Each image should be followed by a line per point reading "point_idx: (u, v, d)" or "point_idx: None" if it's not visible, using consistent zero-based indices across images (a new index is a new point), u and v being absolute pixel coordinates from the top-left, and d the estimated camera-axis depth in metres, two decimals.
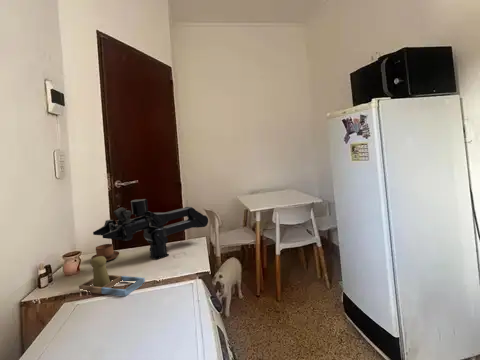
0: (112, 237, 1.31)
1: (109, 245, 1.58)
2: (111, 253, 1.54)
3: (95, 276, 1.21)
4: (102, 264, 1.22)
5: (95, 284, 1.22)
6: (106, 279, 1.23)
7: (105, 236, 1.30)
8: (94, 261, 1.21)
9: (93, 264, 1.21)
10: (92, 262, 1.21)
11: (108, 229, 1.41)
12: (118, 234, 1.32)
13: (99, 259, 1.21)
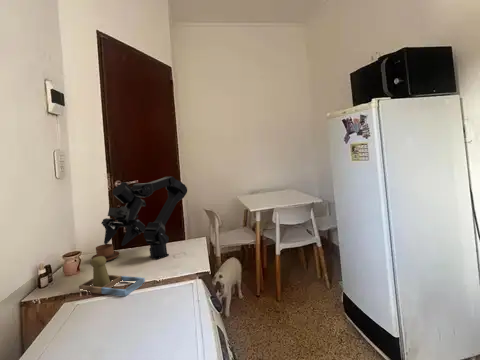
0: (129, 238, 1.29)
1: (109, 245, 1.58)
2: (111, 253, 1.54)
3: (95, 276, 1.21)
4: (102, 264, 1.22)
5: (95, 284, 1.22)
6: (106, 279, 1.23)
7: (124, 243, 1.27)
8: (94, 261, 1.21)
9: (93, 264, 1.21)
10: (92, 262, 1.21)
11: (112, 229, 1.35)
12: (131, 233, 1.30)
13: (99, 259, 1.21)
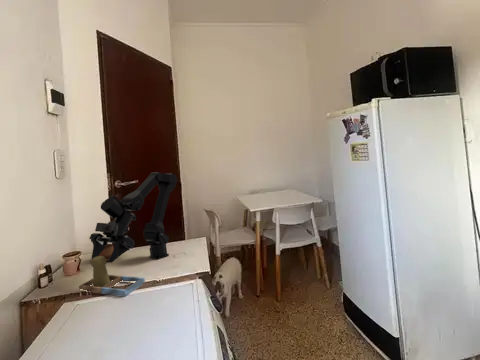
0: (118, 255, 1.24)
1: (109, 245, 1.58)
2: (111, 253, 1.54)
3: (95, 276, 1.21)
4: (102, 264, 1.22)
5: (95, 284, 1.22)
6: (106, 279, 1.23)
7: (112, 260, 1.22)
8: (94, 261, 1.21)
9: (93, 264, 1.21)
10: (92, 262, 1.21)
11: (100, 244, 1.30)
12: (120, 249, 1.25)
13: (99, 259, 1.21)
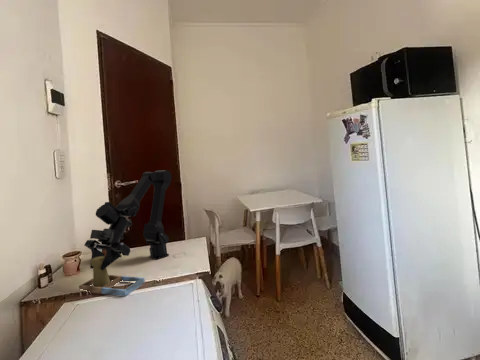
0: (110, 262, 1.23)
1: None
2: None
3: (95, 276, 1.21)
4: None
5: (95, 284, 1.22)
6: (106, 279, 1.23)
7: (103, 267, 1.21)
8: (94, 261, 1.21)
9: (93, 264, 1.21)
10: (92, 262, 1.21)
11: (99, 252, 1.27)
12: (112, 256, 1.24)
13: (99, 259, 1.21)
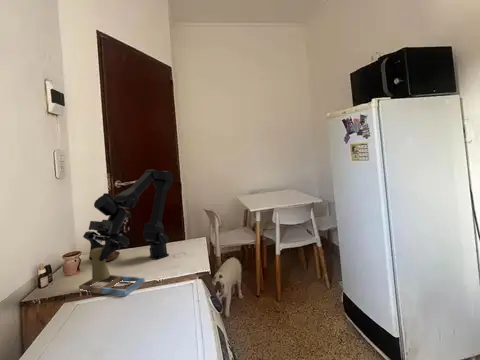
0: (108, 253, 1.22)
1: None
2: (111, 253, 1.54)
3: (94, 267, 1.21)
4: None
5: (94, 275, 1.21)
6: (105, 270, 1.22)
7: (102, 258, 1.21)
8: (93, 252, 1.20)
9: (92, 255, 1.20)
10: (91, 253, 1.21)
11: (97, 243, 1.27)
12: (110, 247, 1.23)
13: (98, 250, 1.21)
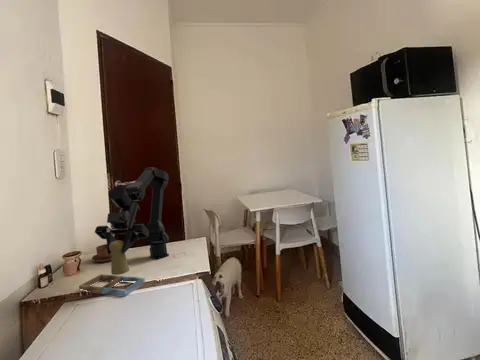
0: (129, 245, 1.20)
1: None
2: None
3: (115, 261, 1.17)
4: None
5: (115, 269, 1.17)
6: (126, 263, 1.19)
7: (124, 250, 1.18)
8: (114, 245, 1.17)
9: (113, 248, 1.16)
10: (112, 246, 1.16)
11: (112, 237, 1.22)
12: (130, 239, 1.21)
13: (119, 243, 1.18)
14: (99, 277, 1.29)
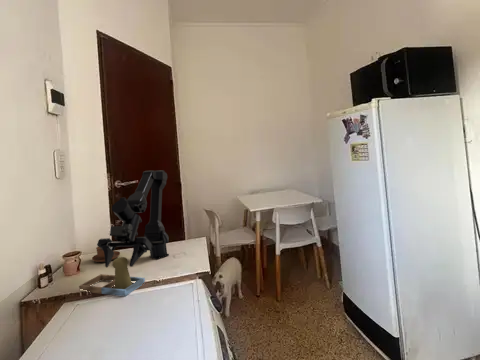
0: (137, 258, 1.20)
1: None
2: None
3: (119, 278, 1.18)
4: (126, 264, 1.19)
5: (119, 286, 1.18)
6: (129, 280, 1.20)
7: (132, 263, 1.18)
8: (118, 262, 1.17)
9: (117, 265, 1.17)
10: (116, 263, 1.17)
11: (110, 250, 1.23)
12: (138, 252, 1.21)
13: (123, 260, 1.18)
14: (99, 277, 1.29)
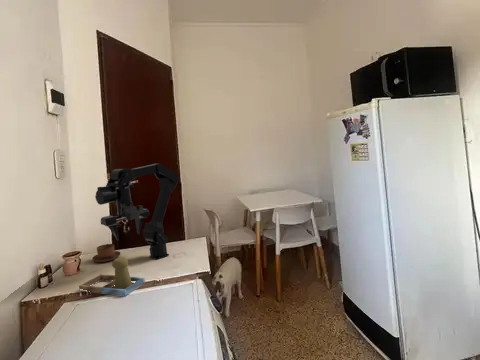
0: None
1: (110, 245, 1.58)
2: (112, 253, 1.53)
3: (119, 278, 1.18)
4: (126, 264, 1.19)
5: (119, 286, 1.18)
6: (129, 280, 1.20)
7: None
8: (118, 262, 1.17)
9: (117, 265, 1.17)
10: (116, 263, 1.17)
11: None
12: None
13: (123, 260, 1.18)
14: (99, 277, 1.29)
